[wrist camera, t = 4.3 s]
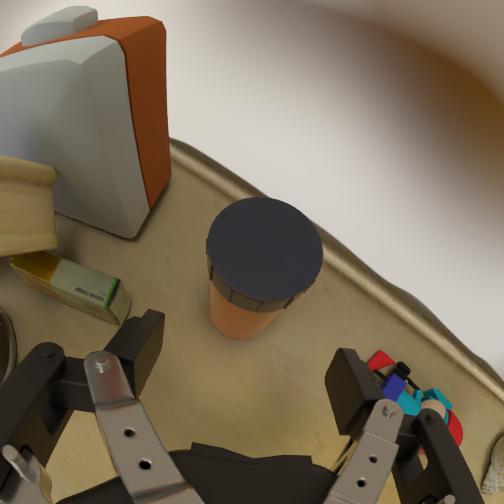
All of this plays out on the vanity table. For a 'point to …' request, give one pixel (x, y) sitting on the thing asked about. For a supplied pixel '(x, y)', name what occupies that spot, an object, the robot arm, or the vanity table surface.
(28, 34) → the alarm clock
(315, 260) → the lid
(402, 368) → the toy figure
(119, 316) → the medication box
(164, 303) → the vanity table surface
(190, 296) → the vanity table surface
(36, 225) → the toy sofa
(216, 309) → the jar
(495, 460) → the seashell
